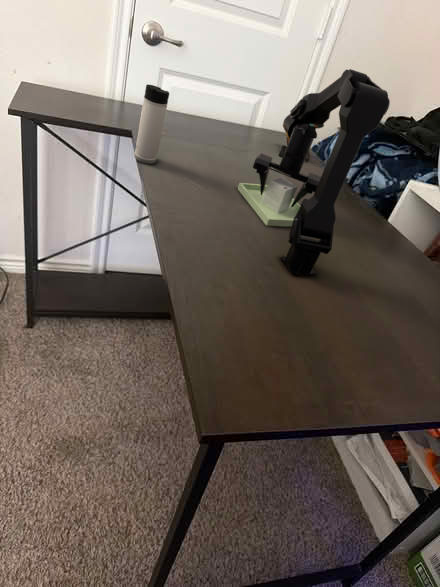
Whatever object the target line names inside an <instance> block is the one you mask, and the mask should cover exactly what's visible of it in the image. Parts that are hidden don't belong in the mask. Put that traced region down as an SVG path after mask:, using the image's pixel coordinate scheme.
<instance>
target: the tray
mask: <svg viewBox="0 0 440 587" xmlns="http://www.w3.org/2000/svg"><path fill="white" fill-rule="evenodd" d="M267 187H268V184H266V185H265V189H264V192H263V194H262V195H261V183H260V184H257V183H246V182H239V183H238V185H237V190H238V191H239V194H241V195H242V197H243V198H244V199H245V201H246V202H247V203H248V204H249V205H250V207H251V208H252V210H254V212H255V214H257V216H258V218H260V220H261V221H262V222H263V223H264V225H265V226H267V227H290V228H291V227H292V223H293V220H294V217H295V216H296V214H297V212H298V211H299V209H300V206H301V204H299V202H297V203H296V204H295V205H294V206H293V207H291V205H292V203H293V201H294V199H295V198H294V197H293V199H292V201H291V204H290V206H289V208H288V209H287V210H284V211H282V212H279V213H276V212H274V211H273V210H271V209H270V208H268V207H267V206H265V205H264V204H262V203H261V202H262V199H263V197H264V194H265V192H266V189H267Z"/></svg>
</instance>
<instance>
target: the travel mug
mask: <svg viewBox="0 0 440 587" xmlns="http://www.w3.org/2000/svg"><path fill="white" fill-rule="evenodd" d="M169 97H170V92H169V91H168V90H165V89H162V87H159V86H157V85H154V84H148V83H147V84H146V85H145V90H144V96H143V100H142V101H143V102H142V106H141V114H140V118H139V125H138V131H137V138H136V144H135V151H134V155H133V156H134V159H135V160H137V161H138V162H140V163H142V164H146V165H152V164H155V163H157V159H158V154H159V149H160V144H161V139H162V134H163V129H164V125H165V124H164V123H165V118H166V114H167V109H168V104H169Z"/></svg>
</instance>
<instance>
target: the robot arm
mask: <svg viewBox="0 0 440 587" xmlns="http://www.w3.org/2000/svg"><path fill="white" fill-rule="evenodd" d="M390 103H391V100H390V98H389V94H388V91H387V90H386V89H383V88H381V87H380V86H379V85H377V83H375V82H374V81H372V79H371V78H370V76H368V75H367V73H364V72H360V71H358V70H355V69H352V68H350V69H345V70H344V71H343V72H342V73H341V76H340V77H338V78H337V79H336V80H334V81H333V82H332V83H330V84H329V85H328V86H326V88H324V89H323V90H321V91H320V92H310V93H308V94H305V95H304V96H303V97H302V98H301V99H300V100H299V101H298V102H297V103H296V105H294V107H292V109H290V113H289V114H288V115H287V116H285V118H284V120H283V122H282V128H283V127H284V128H283V130H284V132H285V131H286V132H285V134H286V133H287V135H288V136H289V138H290V140H289V142H288V145H287V144H286V145H284V144H281V148H280V151H279V153H278V157H279V158H281V161H280V164H278V163H275V162H273V157H272V156H269V155H266V154H264V153H262V152H261V153H259V154H257V156H256V157H255V160H254V162H253V165H252V168H253V169H254V170H256V171H255V172H256V174H258V175H259V182H260V185H261V195H262V194H263V192H264V189H265V185H267V180H268V176H269V172H270V171H273V172H275V173H278V174H281V175H284V176H286V177H288V178H292V179H294V180H297V181H299V182H301V183H302V185H301V187H300V189H299V190H298V192H297V194H296V196H294V197H295V198H294V201H293V203H292V205H291V207H293V206H294V205H295V204H296V203H299V201H301V202H300V209H299V211H298V212H297V214H296V216H295V217H294V220H293V223H292V227H291V226H290V231H289V235H288V238H289V239H288V240H287V242H288V243H289V244H290V247H289V249H288V251H287V253H286V256H281V257H280V260H281V262H282V263H283V264H284V266H285V267H286V269H287V270H288V271H289V272H290V273H291V275H293V276H314V275H316V271H314V269H313V268H314V267H315V265H316V263H317V261H318V259H319V257H320V255H321V253H322V254H324V255H328V254H329V253H330V252H331V251H332V248H333V241H334V240H333V238H334V230H335V229H334V227H335V223H336V220H337V214H336V207H335V204H336V202H337V199H338V197H339V195H340V192H341V190H342V188H343V185H344V184H345V182H346V179H347V177H348V174H349V172H350V170H351V168H352V165H353V163H354V161H355V159H356V156H357V154H358V152H359V150H360V147H361V145H362V143H363V140H364V138H366V137H367V136H368V135H369V134H371V133H372V132H373V131H374V130H375V129H377V128H378V127H379V125H380V123H381V122H382V120H383V118H384V116H385V115H386V114H387V112H388V110H389V108H390ZM337 108H339V110H338V118H339V124H340V125H339V126H340V130H339V133H338V134H337V137H336V139H335V142H334V144H333V147H332V149H331V152H330V154H329V156H328V159H327V160H326V164H325V165H324V166H325V167H324V169H323V172H322V174H321V176H320V175H318V174H315V173H313V172H309V173H308V175H306V174H303V173H301V170H302V168H303V165H304V163H305V161H306V160H307V159H306V156H307V154H308V151H309V152H310V149H311V147H312V145H313V142H314V140H315V139H316V140H317V138H318V132H317V129H316V127H314V126H311V125H310V124H313V125H317V126H319V125H322V124H324V125H325V123H326V122H327V121H328V120H329V119H330V116H331V113H332V111H334V110H336V109H337ZM313 193H314V194H313ZM308 194H309V195H312V194H313V195H312V196H311V197H309V198H304V197H305V196H307V195H308ZM302 198H304V199H303V200H301V199H302Z"/></svg>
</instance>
